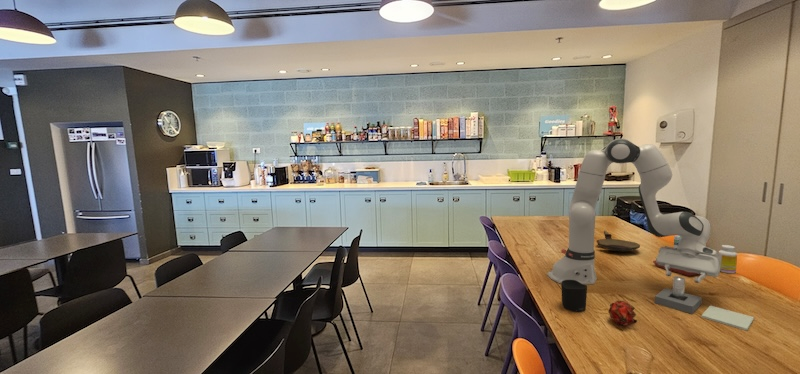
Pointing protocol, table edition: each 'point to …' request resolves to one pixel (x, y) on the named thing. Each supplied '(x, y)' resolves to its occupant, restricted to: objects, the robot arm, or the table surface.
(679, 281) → the peg
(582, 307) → the pen holder
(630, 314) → the dragon fruit
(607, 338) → the table surface
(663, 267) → the plant saucer
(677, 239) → the light bulb box
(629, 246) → the frying pan
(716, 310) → the pad
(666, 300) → the square socket
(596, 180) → the robot arm
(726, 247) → the supplement bottle
